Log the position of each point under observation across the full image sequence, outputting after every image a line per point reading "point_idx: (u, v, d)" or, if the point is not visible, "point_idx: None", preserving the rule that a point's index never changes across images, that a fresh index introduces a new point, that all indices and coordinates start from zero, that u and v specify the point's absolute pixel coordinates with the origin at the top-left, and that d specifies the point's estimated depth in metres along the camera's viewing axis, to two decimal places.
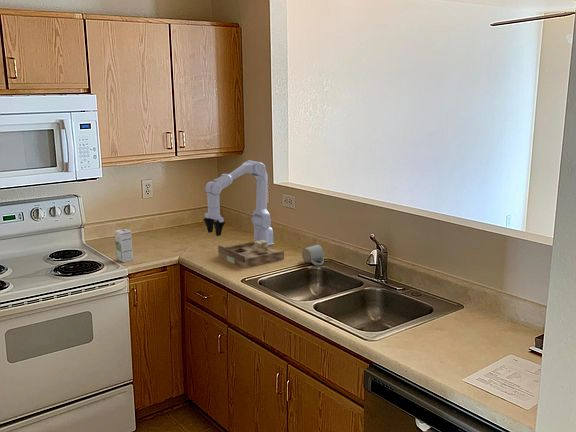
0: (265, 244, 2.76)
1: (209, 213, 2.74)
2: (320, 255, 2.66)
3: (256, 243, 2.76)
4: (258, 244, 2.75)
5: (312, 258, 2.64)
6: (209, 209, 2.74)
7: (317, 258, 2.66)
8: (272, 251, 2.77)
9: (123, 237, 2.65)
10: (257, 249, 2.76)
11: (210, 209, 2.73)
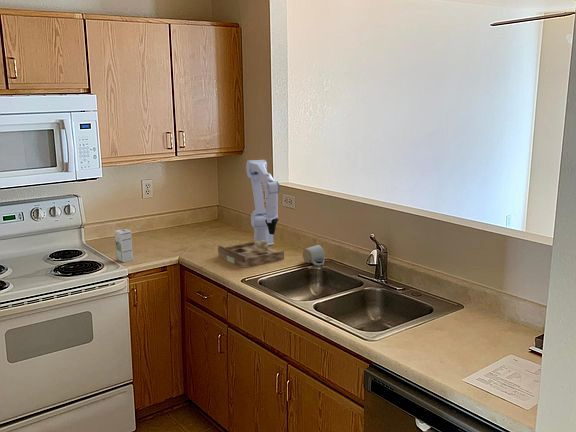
0: (265, 244, 2.76)
1: (266, 212, 2.78)
2: (321, 255, 2.66)
3: (256, 243, 2.76)
4: (258, 244, 2.75)
5: (313, 258, 2.64)
6: (266, 208, 2.77)
7: (318, 258, 2.66)
8: (272, 251, 2.77)
9: (123, 237, 2.65)
10: (257, 249, 2.76)
11: (266, 208, 2.77)
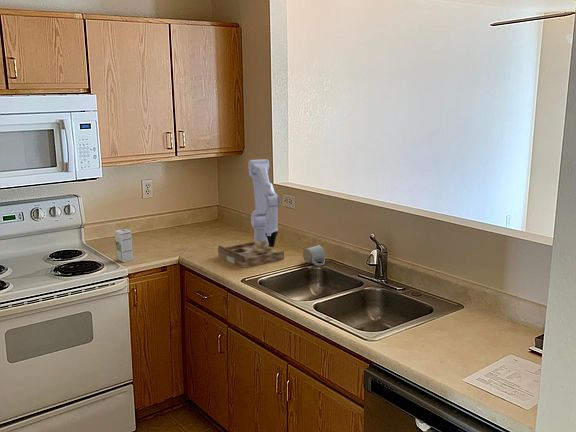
0: (265, 244, 2.76)
1: (265, 225, 2.79)
2: (321, 255, 2.66)
3: (256, 243, 2.76)
4: (258, 244, 2.75)
5: (313, 258, 2.64)
6: (265, 221, 2.79)
7: (318, 258, 2.65)
8: (272, 251, 2.77)
9: (123, 237, 2.65)
10: (257, 249, 2.76)
11: (266, 221, 2.78)
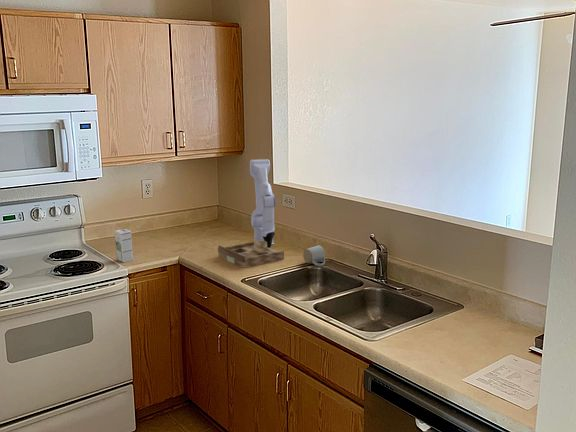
0: (264, 244, 2.76)
1: (262, 226, 2.78)
2: (321, 256, 2.65)
3: (255, 243, 2.76)
4: (257, 244, 2.75)
5: (313, 259, 2.64)
6: None
7: (318, 259, 2.65)
8: (272, 251, 2.77)
9: (123, 237, 2.65)
10: (256, 249, 2.76)
11: (262, 222, 2.77)
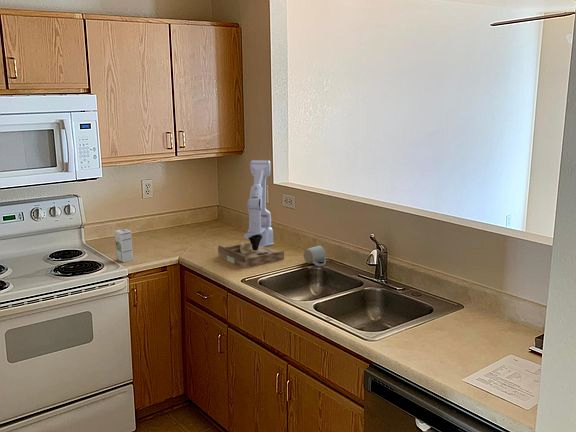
0: (248, 246, 2.72)
1: None
2: (322, 256, 2.65)
3: (241, 245, 2.74)
4: (242, 246, 2.72)
5: (314, 259, 2.63)
6: None
7: (319, 259, 2.65)
8: (272, 251, 2.77)
9: (123, 237, 2.65)
10: (241, 251, 2.74)
11: None
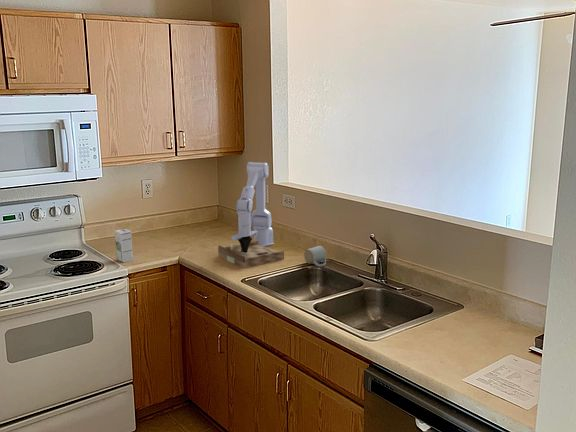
0: (237, 248, 2.69)
1: None
2: (322, 256, 2.65)
3: (230, 246, 2.71)
4: (231, 247, 2.69)
5: (314, 259, 2.63)
6: None
7: (319, 259, 2.64)
8: (272, 251, 2.77)
9: (123, 237, 2.65)
10: None
11: None
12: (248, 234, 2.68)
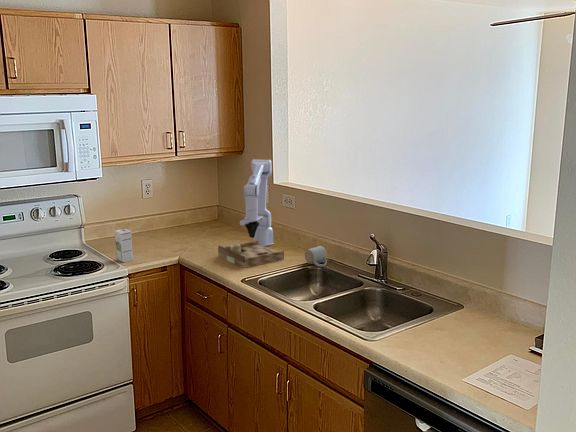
0: (237, 248, 2.69)
1: None
2: (323, 256, 2.64)
3: (230, 246, 2.71)
4: (231, 247, 2.69)
5: (315, 259, 2.63)
6: None
7: (320, 259, 2.64)
8: (272, 251, 2.77)
9: (123, 237, 2.65)
10: None
11: None
12: (256, 219, 2.71)
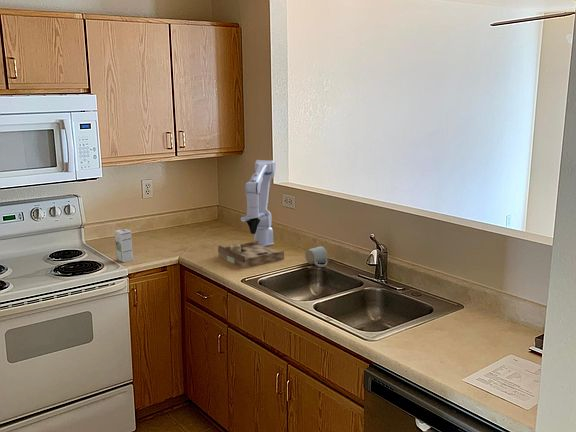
0: (237, 248, 2.69)
1: None
2: (324, 256, 2.64)
3: (230, 246, 2.71)
4: (231, 247, 2.69)
5: (315, 260, 2.62)
6: None
7: (320, 260, 2.64)
8: (272, 251, 2.77)
9: (123, 237, 2.65)
10: None
11: None
12: (256, 216, 2.77)
